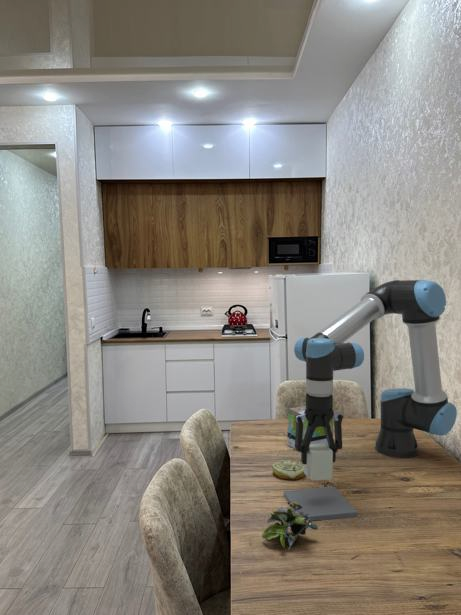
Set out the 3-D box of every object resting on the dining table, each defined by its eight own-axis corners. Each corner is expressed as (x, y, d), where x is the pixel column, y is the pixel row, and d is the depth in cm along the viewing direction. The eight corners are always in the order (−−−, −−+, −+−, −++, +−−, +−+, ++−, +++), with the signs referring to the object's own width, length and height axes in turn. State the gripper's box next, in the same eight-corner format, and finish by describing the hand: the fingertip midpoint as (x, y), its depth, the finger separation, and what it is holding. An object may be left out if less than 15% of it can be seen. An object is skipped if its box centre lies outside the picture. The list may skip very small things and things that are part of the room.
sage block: (324, 470, 137) (324, 443, 137) (332, 479, 131) (332, 450, 131) (304, 472, 136) (304, 444, 136) (311, 480, 130) (312, 452, 130)
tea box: (303, 453, 174) (303, 414, 173) (286, 445, 183) (286, 408, 182) (333, 446, 182) (334, 408, 181) (316, 438, 190) (316, 402, 189)
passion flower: (294, 556, 119) (322, 518, 119) (291, 574, 109) (321, 532, 108) (259, 525, 122) (286, 488, 122) (252, 540, 111) (282, 499, 111)
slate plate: (334, 490, 144) (334, 486, 144) (357, 516, 128) (357, 511, 128) (283, 494, 141) (283, 490, 141) (300, 521, 125) (300, 517, 125)
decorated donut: (296, 484, 148) (296, 472, 148) (267, 476, 154) (267, 465, 154) (310, 473, 157) (310, 462, 157) (281, 466, 163) (281, 455, 163)
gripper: (345, 389, 138) (344, 466, 139) (282, 391, 134) (282, 471, 136) (356, 395, 130) (355, 477, 132) (290, 398, 127) (290, 481, 128)
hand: (318, 473), depth 134 cm, fingers closed on sage block, 6 cm apart
